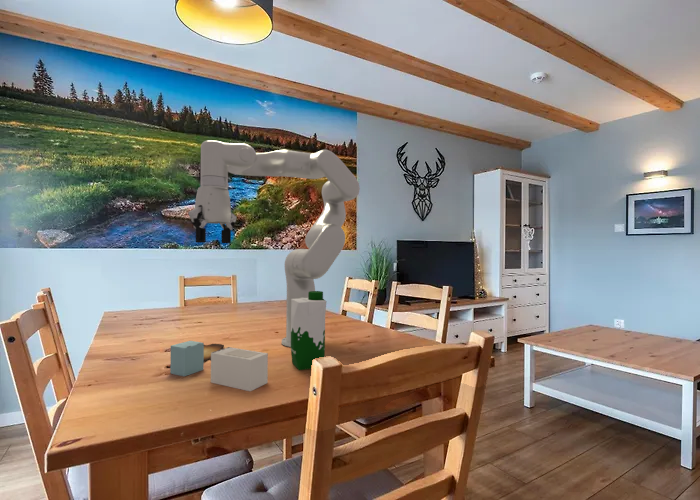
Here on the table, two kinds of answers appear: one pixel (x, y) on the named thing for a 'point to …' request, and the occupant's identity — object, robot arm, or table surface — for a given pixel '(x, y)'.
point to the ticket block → (239, 368)
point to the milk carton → (307, 329)
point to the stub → (187, 358)
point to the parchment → (210, 350)
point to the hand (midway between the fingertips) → (213, 242)
